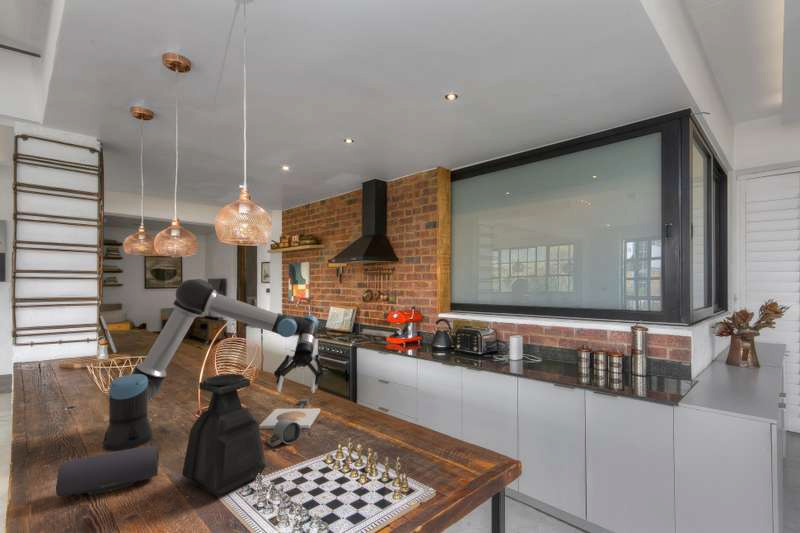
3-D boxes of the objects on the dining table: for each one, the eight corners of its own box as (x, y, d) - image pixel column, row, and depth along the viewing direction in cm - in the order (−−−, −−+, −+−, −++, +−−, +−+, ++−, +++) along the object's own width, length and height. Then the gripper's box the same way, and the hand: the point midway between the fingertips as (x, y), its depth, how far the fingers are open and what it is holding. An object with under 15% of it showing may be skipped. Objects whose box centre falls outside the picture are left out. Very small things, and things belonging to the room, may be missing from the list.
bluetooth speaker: (158, 471, 122) (159, 439, 122) (156, 485, 114) (156, 450, 114) (64, 491, 111) (65, 455, 111) (54, 508, 103) (55, 469, 103)
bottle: (180, 484, 114) (181, 380, 115) (232, 461, 128) (232, 369, 129) (215, 503, 104) (216, 389, 105) (267, 476, 118) (267, 376, 119)
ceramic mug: (290, 434, 149) (290, 414, 150) (301, 440, 144) (301, 419, 144) (263, 443, 142) (263, 422, 142) (274, 450, 136) (273, 428, 136)
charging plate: (309, 428, 156) (309, 423, 156) (259, 428, 156) (259, 423, 156) (325, 403, 187) (325, 398, 187) (283, 403, 187) (283, 399, 187)
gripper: (334, 351, 173) (328, 396, 157) (278, 352, 173) (266, 396, 158) (332, 341, 167) (325, 386, 152) (274, 342, 168) (261, 387, 152)
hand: (295, 391), depth 155 cm, fingers open, 13 cm apart
